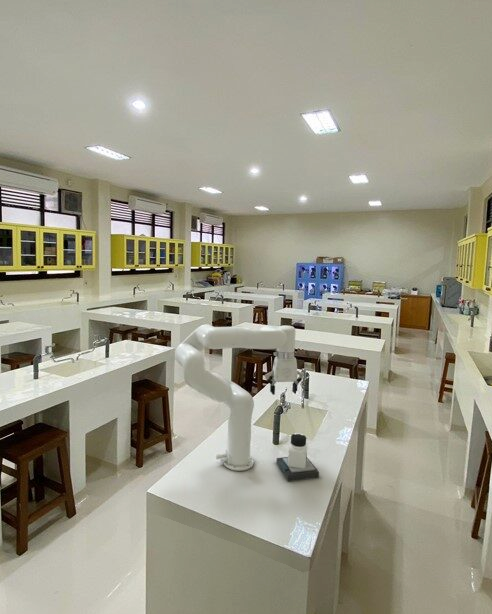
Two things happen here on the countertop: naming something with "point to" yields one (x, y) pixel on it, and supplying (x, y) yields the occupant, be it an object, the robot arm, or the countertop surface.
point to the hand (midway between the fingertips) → (283, 393)
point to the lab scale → (297, 470)
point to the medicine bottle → (297, 451)
